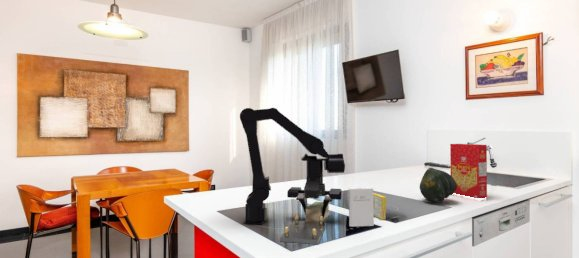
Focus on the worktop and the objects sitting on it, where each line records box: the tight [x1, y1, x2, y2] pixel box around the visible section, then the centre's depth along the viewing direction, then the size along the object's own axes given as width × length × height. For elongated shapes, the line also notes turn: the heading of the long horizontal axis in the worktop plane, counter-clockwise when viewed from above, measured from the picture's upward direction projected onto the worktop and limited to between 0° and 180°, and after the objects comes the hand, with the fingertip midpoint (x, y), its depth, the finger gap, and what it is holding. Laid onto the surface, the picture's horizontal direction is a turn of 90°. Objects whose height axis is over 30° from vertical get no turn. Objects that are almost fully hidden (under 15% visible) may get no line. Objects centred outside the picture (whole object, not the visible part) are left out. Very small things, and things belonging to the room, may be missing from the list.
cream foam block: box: [305, 201, 330, 222], centre depth 118 cm, size 5×11×5 cm, turn 157°
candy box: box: [373, 192, 387, 221], centre depth 124 cm, size 16×2×8 cm, turn 14°
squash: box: [419, 167, 457, 203], centre depth 143 cm, size 14×15×15 cm
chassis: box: [279, 213, 327, 245], centre depth 101 cm, size 11×18×4 cm, turn 167°
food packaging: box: [449, 143, 488, 198], centre depth 153 cm, size 15×5×25 cm, turn 23°
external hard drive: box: [348, 187, 375, 228], centre depth 109 cm, size 2×8×12 cm, turn 96°
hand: (314, 217), depth 115 cm, fingers closed on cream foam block, 5 cm apart
